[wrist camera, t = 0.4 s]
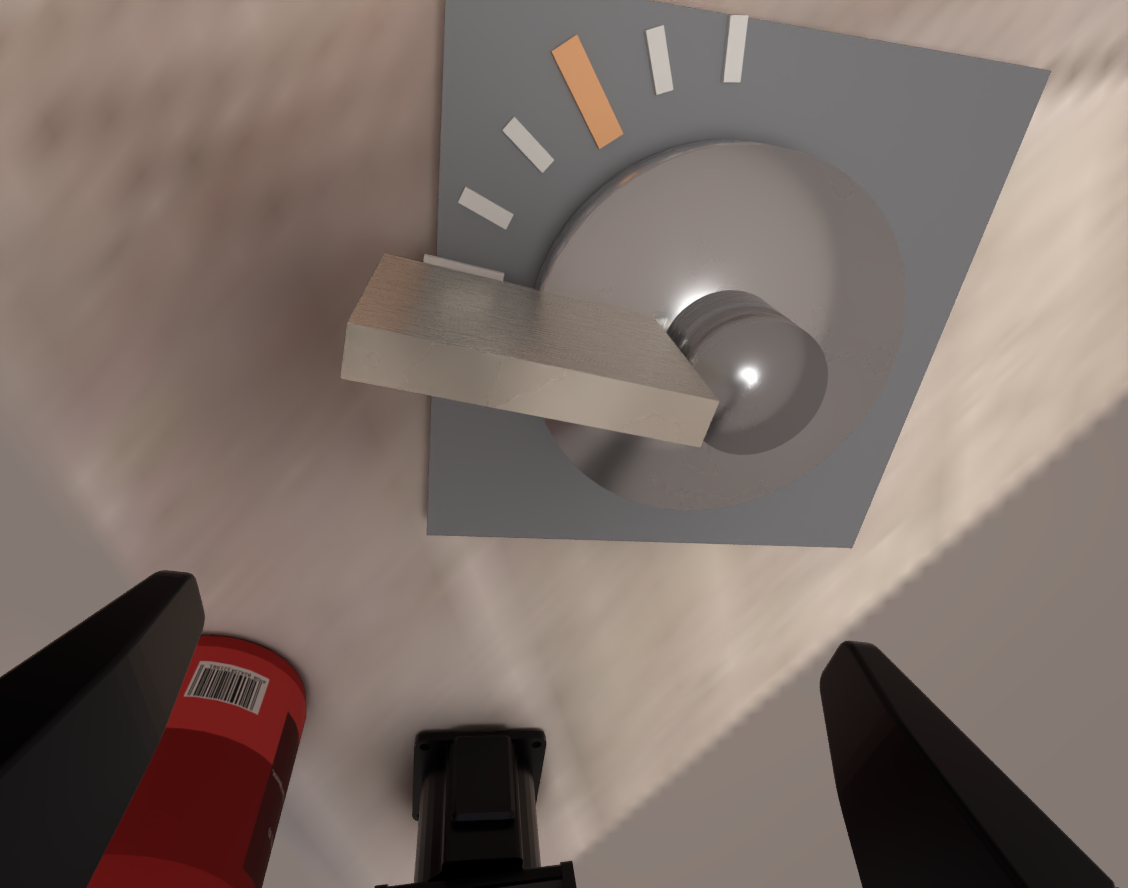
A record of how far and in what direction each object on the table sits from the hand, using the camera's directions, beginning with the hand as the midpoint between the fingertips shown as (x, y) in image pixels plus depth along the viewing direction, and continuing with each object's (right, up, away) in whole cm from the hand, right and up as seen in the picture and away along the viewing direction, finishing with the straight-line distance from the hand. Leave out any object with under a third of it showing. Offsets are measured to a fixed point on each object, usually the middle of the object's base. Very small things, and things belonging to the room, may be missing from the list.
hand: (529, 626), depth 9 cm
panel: (+5, +7, +14) cm, 17 cm away
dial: (+3, +7, +12) cm, 14 cm away
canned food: (-15, -9, +20) cm, 27 cm away
